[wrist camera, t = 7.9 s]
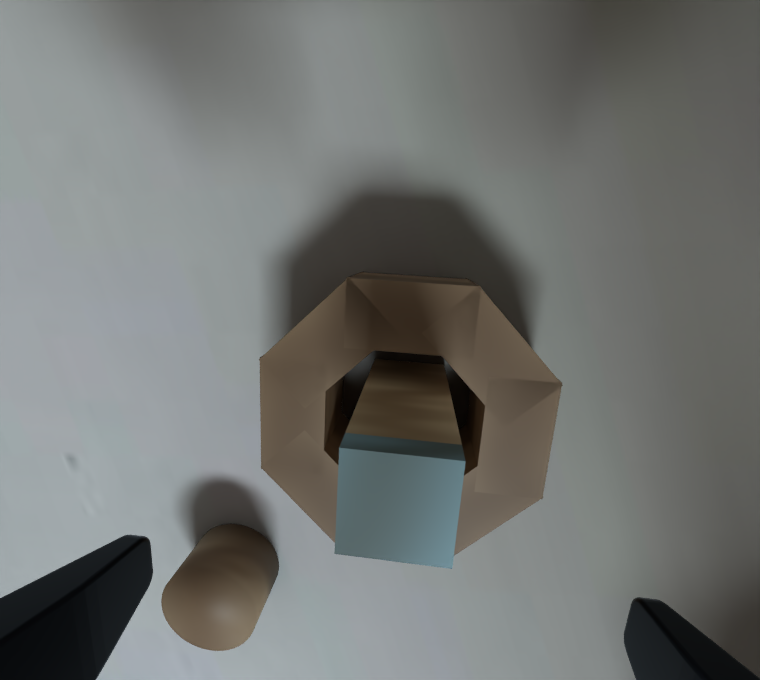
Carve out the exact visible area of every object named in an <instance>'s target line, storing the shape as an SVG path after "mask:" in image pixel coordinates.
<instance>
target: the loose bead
mask: <svg viewBox="0 0 760 680" xmlns="http://www.w3.org/2000/svg"><path fill="white" fill-rule="evenodd" d="M278 571H279V561H278V557H277V554H276V551H275V550H274V548H273V546H272V545H271V543H270V542H269V541H268V540H267V539H266V538H265V537H264V536H263V535H262V534H260V533H259V532H257V531H255V530H254V529H252V528H249V527H247V526H243V525H238V524H224V525H220V526H217V527H214V528H212V529H211V530H209V531H208V532H207V533H206V534H205V535H204V536H203V537H202V539H201V540H200V541H199V543H198V544H197V545H196V546H195V548H194V549H193V550H192V552H191V553H190V554H189V556H188V557H187V558H186V560H185V561H184V562H183V564H182V565H181V566H180V568H179V569H178V570H177V571H176V573H175V574H174V575H173V577H172V578H171V579H170V581H169V582H168V583H167V585H166V586H165V588H164V590H163V594H162V610H163V613H164V616H165V618H166V620H167V622H168V624H169V625H170V627H171V628H172V629H173V630H174V631H175V632H176V633H177V634H178V635H179V636H180V637H181V638H182V639H184V640H185V641H187V642H189V643H191V644H192V645H195V646H197V647H200V648H203V649H207V650H214V651H223V650H229V649H233V648H235V647H238V646H240V645H241V644H243V643H244V642H245V641H246V640H247V639H248V638H249V637H250V636H251V634H252V632H253V630H254V628H255V625H256V623H257V621H258V619H259V616H260V614H261V612H262V610H263V607H264V605H265V603H266V600H267V598H268V596H269V594H270V591H271V589H272V587H273V584H274V582H275V580H276V578H277V575H278Z"/></svg>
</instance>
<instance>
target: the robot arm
mask: <svg viewBox="0 0 760 680" xmlns="http://www.w3.org/2000/svg"><path fill="white" fill-rule="evenodd" d="M152 575H153V567H152V556H151V545H150V541H149V539H148V538H147V537H144V536H137V535H125V536H123V537H121V538H119V539H117V540H115V541H113V542H111V543H109V544H107V545H105V546H103V547H101V548H99V549H97V550H95V551H93V552H91V553H89V554H87V555H85V556H83V557H81V558H79V559H77V560H75V561H73V562H71V563H69V564H67V565H65V566H63V567H61V568H59V569H57V570H55V571H53V572H51V573H49V574H47V575H45V576H43V577H41V578H40V579H38V580H36V581H34V582H32V583H30V584H28V585H26V586H24V587H22V588H20V589H18V590H16V591H14V592H12V593H10V594H8V595H6V596H4V597H2V598H0V680H96V678H97V677H98V675H99V673H100V672H101V670H102V668H103V667H104V665H105V663H106V662H107V660H108V658H109V656H110V655H111V653H112V651H113V649H114V647H115V646H116V644H117V642H118V640H119V639H120V637H121V635H122V633H123V631H124V630H125V628H126V626H127V624H128V623H129V621H130V619H131V617H132V615H133V614H134V612H135V610H136V608H137V607H138V605H139V603H140V601H141V599H142V598H143V596H144V594H145V592H146V591H147V589H148V587H149V585H150V582H151V579H152ZM624 644H625V648H626V652H627V655H628V658H629V660H630V663H631V666H632V669H633V672H634V675H635V678H636V680H760V678H759V677H757V676H756V675H755V674H754V673H752V672H751V671H750V670H749V669H747V668H746V667H745V666H743V665H742V664H741V663H740V662H738V661H737V660H736V659H735V658H733V657H732V656H731V655H730V654H728V653H727V652H726V651H725V650H723V649H722V648H721V647H719V646H718V645H717V644H716V643H714V642H713V641H712V640H711V639H709V638H708V637H707V636H706V635H704V634H703V633H702V632H701V631H699V630H698V629H697V628H696V627H694V626H693V625H692V624H690V623H689V622H688V621H687V620H685V619H684V618H683V617H682V616H680V615H679V614H678V613H677V612H675V611H674V610H673V609H672V608H670V607H669V606H668V605H666V604H665V603H664V602H662V601H660V600H657V599H649V598H641V597H638V598H635V599H634V600H633V601H632V604H631V607H630V611H629V615H628V619H627V623H626V627H625V631H624Z"/></svg>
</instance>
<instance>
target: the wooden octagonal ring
mask: <svg viewBox="0 0 760 680" xmlns="http://www.w3.org/2000/svg"><path fill="white" fill-rule="evenodd" d="M374 350H375V351H387V352H400V353H412V354H425V355H437V356H442V357H443V358H444V359H445V360H446V361H447V362H448V364H449V365H450V366H451V367H452V368H453V369H454V370H455V372H456V373H457V374H458V375H459V376H460V377H461V378H462V380H463V381H464V382H465V383H466V384H467V385H468V386H469V388H470V395H469V404H468V412H467V421H466V424H465V425H464V426H463V427H461V428H460V429H459V434H460V438H461V443H462V447H463V452H464V456H465V461H466V462H465V470H464V478H463V486H462V494H461V502H460V510H459V518H458V526H457V534H456V542H455V550H454V555H456V554H457V553H459V552H460V551H462V550H463V549H465V548H466V547H468V546H469V545H471V544H473V543H474V542H476V541H477V540H479V539H480V538H482V537H483V536H485V535H486V534H488V533H489V532H491V531H492V530H494V529H496V528H497V527H499V526H500V525H502V524H503V523H505V522H506V521H508V520H509V519H511V518H512V517H514V516H515V515H517V514H518V513H520V512H522V511H523V510H525V509H526V508H528V507H529V506H531V505H532V504H534V503H535V502H537V501H538V500H540V499H542V498H543V491H544V485H545V480H546V474H547V468H548V462H549V457H550V451H551V445H552V439H553V433H554V428H555V422H556V416H557V410H558V404H559V399H560V393H561V387H562V386H563V385H562V382H561V381H560V380H558V379H557V378H556V377H555V375H554V374H553V373H552V372H551V371H550V369H549V368H548V367H547V366H546V365H545V364H544V362H543V361H542V360H541V359H540V358H539V356H538V355H537V354H536V353H535V352H534V350H533V349H532V348H531V347H530V346H529V345H528V343H527V342H526V341H525V340H524V339H523V337H522V336H521V335H520V334H519V333H518V331H517V330H516V329H515V328H514V327H513V325H512V324H511V323H510V322H509V321H508V320H507V318H506V317H505V316H504V315H503V314H502V312H501V311H500V310H499V309H498V308H497V306H496V305H495V304H494V303H493V302H492V301H491V299H490V298H489V297H488V296H487V295H486V293H485V292H484V291H483V290H482V289H481V286H479V285H477V284H476V283H474V282H472V281H471V280H469V279H467V278H466V279H459V278H444V277H428V276H413V275H397V274H381V273H366V272H361V273H358V274H355V275H353V276H350V277H347V278H346V280H345V281H344V282H343V283H342V284H341V285H340V286H339V287H337V288H336V289H335V290H334V291H333V292H332V293H331V294H330V295H329V296H328V297H327V298H326V299H324V300H323V301H322V302H321V303H320V304H319V305H318V306H317V307H316V308H315V309H314V310H312V311H311V312H310V313H309V314H308V315H307V316H306V317H305V318H304V319H303V320H302V321H301V322H299V323H298V324H297V325H296V326H295V327H294V328H293V329H292V330H291V331H290V332H289V333H287V334H286V335H285V336H284V337H283V338H282V339H281V340H280V341H279V342H278V343H277V344H276V345H274V346H273V347H272V348H271V349H270V350H269V351H268V352H267V353H266V354H265V355H263V356H262V357H260V359H259V360H260V407H261V469H263V470H264V471H265V472H266V473H267V474H268V475H269V476H270V477H271V478H272V479H273V480H274V481H275V482H276V483H277V484H278V485H279V486H280V487H281V488H282V489H283V490H284V491H285V492H286V493H287V494H288V496H289V497H290V498H291V499H292V500H293V501H294V502H295V503H296V504H297V505H298V506H299V507H300V508H301V509H302V510H303V511H304V512H305V513H306V514H307V515H308V516H309V517H310V518H311V519H312V520H313V521H314V522H315V523H316V524H317V525H318V526H319V527H320V528H321V529H322V530H323V531H324V532H325V533H326V534H327V535H328V536H329V537H330V538H331V539H332V540H333V541H334V542H335V533H336V510H337V487H338V464H339V447H340V445H341V442H342V440H343V437H344V435H345V432H346V430H347V427H348V425H349V422H350V420H349V419H348V418H347V417H346V416H345V415H344V414H343V413H342V400H343V376H344V375H345V374H347V373H348V372H349V371H350V370H351V369H352V368H354V367H355V366H356V365H357V364H358V363H359V362H361V361H362V360H363V359H364V358H365V357H367V356H368V355H369V354H370V353H371V352H372V351H374Z"/></svg>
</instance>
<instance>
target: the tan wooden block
mask: <svg viewBox="0 0 760 680" xmlns="http://www.w3.org/2000/svg"><path fill="white" fill-rule="evenodd" d="M465 462H466V461H465V456H464V452H463V447H462V443H461V438H460V434H459V430H458V425H457V421H456V416H455V412H454V407H453V403H452V398H451V394H450V389H449V385H448V380H447V376H446V372H445V367H444V365H442V364H430V363H419V362H407V361H396V360H385V359H375V360H374V363H373V365H372V368H371V370H370V373H369V375H368V378H367V380H366V383H365V385H364V388H363V390H362V393H361V395H360V397H359V400H358V402H357V405H356V407H355V410H354V412H353V415H352V417H351V420H350V422H349V425H348V427H347V430H346V432H345V435H344V437H343V440H342V442H341V445H340V447H339V464H338V487H337V510H336V533H335V554H341V555H349V556H356V557H364V558H372V559H380V560H388V561H395V562H403V563H411V564H419V565H426V566H434V567H442V568H450V569H452V566H453V558H454V550H455V542H456V534H457V526H458V518H459V510H460V502H461V494H462V486H463V478H464V470H465Z"/></svg>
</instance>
